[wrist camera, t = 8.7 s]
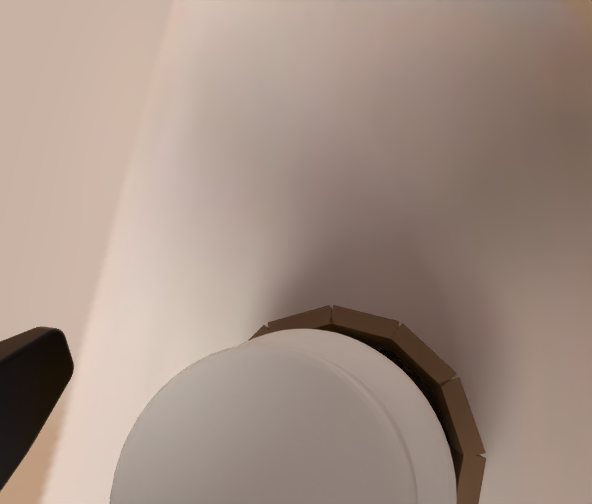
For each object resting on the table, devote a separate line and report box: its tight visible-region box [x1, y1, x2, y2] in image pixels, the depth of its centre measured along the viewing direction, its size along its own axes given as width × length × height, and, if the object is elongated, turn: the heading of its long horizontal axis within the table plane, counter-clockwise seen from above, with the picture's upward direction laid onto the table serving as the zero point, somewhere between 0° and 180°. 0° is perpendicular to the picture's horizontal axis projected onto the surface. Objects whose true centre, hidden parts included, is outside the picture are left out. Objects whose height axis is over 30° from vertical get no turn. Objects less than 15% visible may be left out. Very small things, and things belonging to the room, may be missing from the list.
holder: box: [248, 305, 486, 504], centre depth 14 cm, size 7×7×3 cm
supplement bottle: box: [110, 329, 457, 504], centre depth 10 cm, size 5×5×10 cm
